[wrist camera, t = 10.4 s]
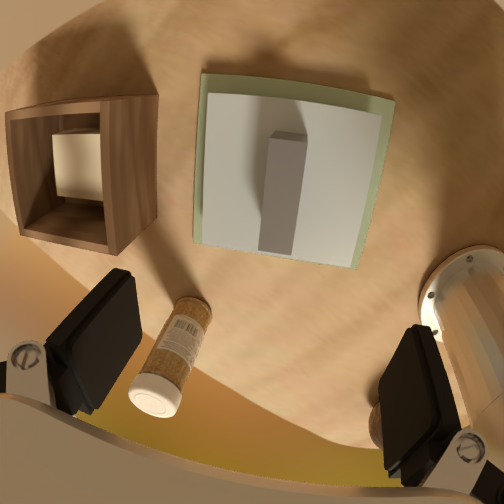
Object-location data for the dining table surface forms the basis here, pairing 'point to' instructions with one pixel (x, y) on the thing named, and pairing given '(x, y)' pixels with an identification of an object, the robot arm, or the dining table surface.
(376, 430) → the vase
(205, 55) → the dining table surface
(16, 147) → the box
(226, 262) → the dining table surface
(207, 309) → the sprinkles bottle
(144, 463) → the robot arm
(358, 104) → the mat
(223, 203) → the lid
